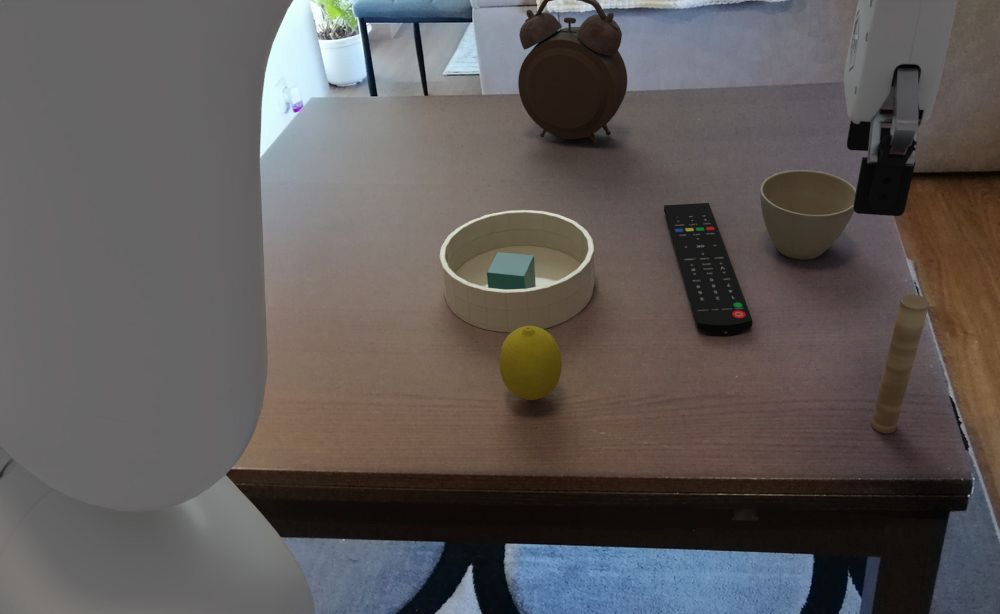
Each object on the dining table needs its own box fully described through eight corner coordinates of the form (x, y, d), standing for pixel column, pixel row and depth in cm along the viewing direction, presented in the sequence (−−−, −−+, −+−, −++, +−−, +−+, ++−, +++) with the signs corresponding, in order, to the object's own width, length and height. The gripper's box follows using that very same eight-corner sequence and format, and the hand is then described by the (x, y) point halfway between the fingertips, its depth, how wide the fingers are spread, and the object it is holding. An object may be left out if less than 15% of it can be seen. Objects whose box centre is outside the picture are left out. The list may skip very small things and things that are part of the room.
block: (526, 308, 91) (524, 276, 88) (489, 304, 92) (486, 272, 89) (535, 286, 94) (534, 255, 91) (500, 282, 95) (497, 251, 92)
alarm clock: (631, 132, 124) (633, -11, 113) (614, 154, 119) (615, 6, 107) (537, 120, 130) (530, -18, 118) (517, 140, 125) (508, -2, 113)
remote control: (707, 212, 105) (708, 202, 104) (752, 334, 85) (753, 323, 85) (663, 215, 105) (664, 205, 104) (698, 337, 86) (698, 326, 85)
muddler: (896, 435, 73) (930, 310, 66) (871, 431, 74) (902, 307, 66) (895, 419, 75) (927, 295, 67) (870, 415, 75) (900, 292, 68)
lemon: (567, 380, 82) (565, 312, 77) (556, 421, 77) (553, 351, 73) (509, 375, 83) (504, 307, 78) (496, 414, 79) (489, 345, 74)
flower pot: (756, 271, 94) (764, 213, 90) (751, 224, 102) (757, 168, 98) (854, 274, 92) (866, 215, 88) (840, 226, 100) (851, 170, 96)
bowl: (576, 341, 86) (575, 300, 84) (423, 323, 91) (417, 283, 88) (606, 254, 99) (606, 216, 96) (470, 241, 103) (466, 204, 100)
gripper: (850, -101, 61) (815, 126, 71) (865, -31, 48) (820, 237, 58) (968, -103, 59) (915, 131, 69) (1018, -31, 46) (944, 246, 56)
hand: (872, 179), depth 63 cm, fingers open, 9 cm apart
